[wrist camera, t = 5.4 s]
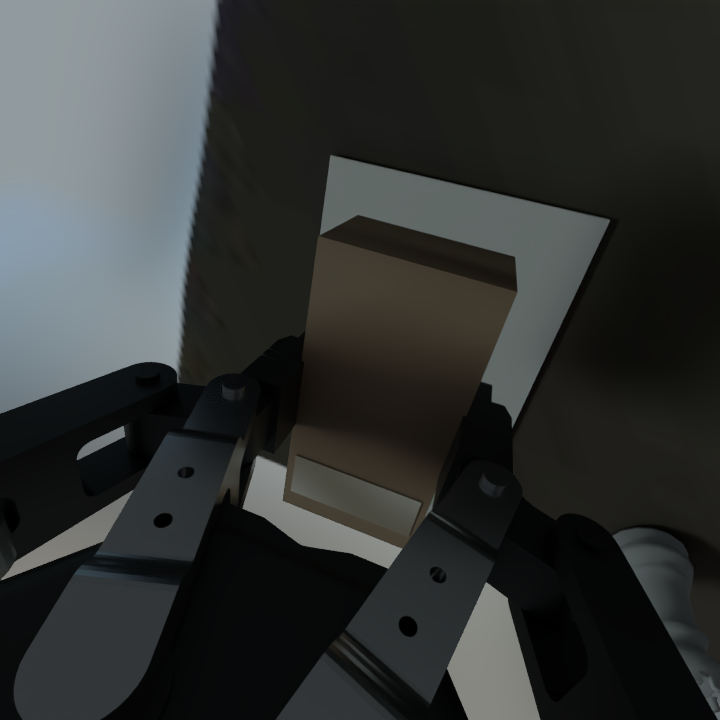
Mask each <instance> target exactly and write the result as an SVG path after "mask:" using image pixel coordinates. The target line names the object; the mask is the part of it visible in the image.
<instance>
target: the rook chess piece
mask: <svg viewBox="0 0 720 720" xmlns="http://www.w3.org/2000/svg"><path fill="white" fill-rule="evenodd" d="M612 536H613V538H614V539H615V540H616V542H617V543H618V545H619V546H620V548H621V550H622V552H623V553H624V555H625V557H626V559H627V560H628V562H629V564H630V566H631V567H632V569H633V571H634V573H635V575H636V576H637V578H638V580H639V582H640V583H641V585H642V587H643V589H644V590H645V592H646V594H647V596H648V597H649V599H650V601H651V603H652V605H653V606H654V608H655V610H656V612H657V613H658V615H659V617H660V619H661V620H662V622H663V624H664V626H665V627H666V629H667V631H668V633H669V635H670V636H671V638H672V640H673V642H674V643H675V645H676V647H677V649H678V650H679V652H680V654H681V656H682V657H683V659H684V661H685V663H686V665H687V666H688V668H689V670H690V672H691V673H692V675H693V677H694V679H695V680H696V682H697V684H698V686H699V687H700V689H701V691H702V693H703V695H704V696H705V698H706V700H707V702H708V703H709V705H710V707H711V709H712V710H713V712H714V713H715V712H719V711H720V707H719V705H718V702H717V700H716V699H718V700H719V703H720V663H718V662H717V661H716V660H715V659H713V658H712V657H711V656H709V655H708V654H707V649H708V644H709V641H708V640H707V638H706V636H705V634H703V633H702V632H700V631H699V629H698V627H697V625H696V622H695V619H694V615H693V611H692V607H691V603H690V599H689V595H690V593H691V586H692V585H691V584H692V581H693V574H694V572H693V566H692V564H691V562H690V561H689V559H688V555H689V554H688V552H687V550H686V549H685V547H684V545H683V543H681V542H680V541H679V540H677V539H676V538H674V537H673V536H672V535H670V534H668V533H666V532H664V531H661V530H657V529H654V528H651V527H638V526H635V527H630V528H625V529H622V530H620V531H618V532H616V533H615V534H613V535H612Z"/></svg>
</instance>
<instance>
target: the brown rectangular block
mask: <svg viewBox="0 0 720 720" xmlns="http://www.w3.org/2000/svg"><path fill="white" fill-rule="evenodd" d="M517 292H518V290H517V276H516V262H515V257H514V256H510V255H506V254H503V253H499V252H495V251H491V250H488V249H484V248H480V247H476V246H473V245H469V244H465V243H462V242H458V241H454V240H450V239H447V238H443V237H439V236H435V235H432V234H428V233H424V232H420V231H417V230H413V229H409V228H405V227H402V226H398V225H394V224H390V223H387V222H383V221H379V220H376V219H372V218H368V217H364V216H361V215H357V216H355V217H353V218H351V219H349V220H348V221H346V222H344V223H342V224H340V225H338V226H336V227H334V228H333V229H331V230H329V231H327V232H325V233H323V234H321V235H319V236H318V242H317V250H316V257H315V265H314V272H313V280H312V287H311V294H310V302H309V309H308V317H307V324H306V332H305V339H304V346H303V354H302V361H303V362H304V367H303V374H302V382H301V389H300V396H299V403H298V410H297V418H296V425H295V426H294V427H293V429H292V436H291V443H290V451H289V458H288V465H287V473H286V481H285V488H284V495H283V501H285V502H287V503H290V504H292V505H295V506H297V507H300V508H303V509H305V510H307V511H310V512H312V513H315V514H317V515H320V516H322V517H325V518H327V519H330V520H332V521H335V522H337V523H340V524H342V525H345V526H347V527H350V528H352V529H355V530H357V531H360V532H363V533H365V534H368V535H370V536H372V537H375V538H377V539H380V540H382V541H385V542H387V543H390V544H392V545H395V546H397V547H400V548H402V549H403V548H404V546H405V545H406V544H407V542H408V541H409V539H410V538H411V537H412V535H413V534H414V532H415V531H416V530H417V528H418V527H419V525H420V524H421V523H422V521H423V520H424V518H425V516H426V513H427V511H428V509H429V506H430V504H431V501H432V499H433V496H434V494H435V492H436V487H437V482H438V477H439V474H440V472H441V469H442V467H443V464H444V462H445V460H446V457H447V455H448V452H449V450H450V447H451V445H452V442H453V440H454V437H455V435H456V432H457V430H458V428H459V425H460V423H461V420H462V418H463V416H467V414H468V411H469V409H470V407H471V404H472V402H473V399H474V397H475V394H476V392H477V390H478V387H479V385H480V382H481V380H482V377H483V375H484V373H485V370H486V368H487V365H488V363H489V360H490V358H491V356H492V353H493V351H494V348H495V346H496V343H497V341H498V339H499V336H500V334H501V331H502V329H503V326H504V324H505V322H506V319H507V317H508V314H509V312H510V309H511V307H512V305H513V302H514V300H515V297H516V295H517Z"/></svg>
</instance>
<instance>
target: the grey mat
mask: <svg viewBox="0 0 720 720" xmlns="http://www.w3.org/2000/svg"><path fill="white" fill-rule="evenodd" d="M357 215H361V216H364V217H368V218H372V219H376V220H379V221H383V222H387V223H390V224H394V225H398V226H402V227H405V228H409V229H413V230H417V231H420V232H424V233H428V234H432V235H435V236H439V237H443V238H447V239H450V240H454V241H458V242H462V243H465V244H469V245H473V246H476V247H480V248H484V249H488V250H491V251H495V252H499V253H503V254H506V255H510V256H514V257H515V262H516V276H517V290H518V292H517V295H516V297H515V300H514V302H513V305H512V307H511V309H510V312H509V314H508V317H507V319H506V322H505V324H504V326H503V329H502V331H501V334H500V336H499V339H498V341H497V343H496V346H495V348H494V351H493V353H492V356H491V358H490V360H489V363H488V365H487V368H486V370H485V373H484V375H483V377H482V380H481V381H482V382H485V383H488V384H491V385H492V402H494V403H497V404H500V405H503V406H505V407H506V409H507V411H508V412H509V414H510V416H511V417H512V427H513V425H514V423H515V421H516V419H517V417H518V415H519V413H520V411H521V408H522V406H523V404H524V402H525V400H526V398H527V396H528V394H529V391H530V389H531V387H532V385H533V383H534V381H535V379H536V377H537V374H538V372H539V370H540V368H541V366H542V364H543V362H544V360H545V358H546V355H547V353H548V351H549V349H550V347H551V345H552V343H553V341H554V338H555V336H556V334H557V332H558V330H559V328H560V326H561V324H562V321H563V319H564V317H565V315H566V313H567V311H568V309H569V307H570V304H571V302H572V300H573V298H574V296H575V294H576V292H577V290H578V288H579V285H580V283H581V281H582V279H583V277H584V275H585V273H586V271H587V268H588V266H589V264H590V262H591V260H592V258H593V256H594V254H595V251H596V249H597V247H598V245H599V243H600V241H601V239H602V237H603V235H604V232H605V230H606V228H607V226H608V224H609V222H610V220H609V219H607V218H602V217H598V216H594V215H589V214H585V213H581V212H576V211H572V210H568V209H563V208H559V207H555V206H551V205H546V204H542V203H538V202H533V201H529V200H525V199H520V198H516V197H512V196H507V195H503V194H499V193H494V192H490V191H486V190H481V189H477V188H473V187H468V186H464V185H460V184H456V183H451V182H447V181H443V180H438V179H434V178H430V177H425V176H421V175H417V174H412V173H408V172H404V171H399V170H395V169H391V168H386V167H382V166H378V165H374V164H369V163H365V162H361V161H356V160H352V159H348V158H343V157H339V156H335V155H331V156H330V164H329V171H328V179H327V186H326V194H325V201H324V209H323V216H322V224H321V231H320V235H321V234H323V233H325V232H327V231H329V230H331V229H333V228H334V227H336V226H338V225H340V224H342V223H344V222H346V221H348V220H349V219H351V218H353V217H355V216H357ZM434 497H435V494H434V496H433V499H432V501H431V504H430V506H429V509H428V511H427V513H426V516H427V514H428V513H429V512H430V511H431V510H432V506H433V501H434ZM426 516H425V517H426Z"/></svg>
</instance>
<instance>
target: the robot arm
mask: <svg viewBox="0 0 720 720" xmlns="http://www.w3.org/2000/svg"><path fill="white" fill-rule="evenodd" d="M305 332H306V331H305ZM305 332H304V333H303V334H302V335H301V336H300V337H298V338H297V337H294V336H288V337H285V338H282V339H280V340H277V341H276V342H275V343H274V344H273V345H272V346H271V347H270V348H269V349H267V350H266V351H265V352H264V353H263V354H262V356H260V357H258V358H257V359H256V360H255V361H254V362H253V363H252V364H251V365H249V366H248V367H247V368H246V369H245V370H244V371H243V372H242V373H240V374H237V373H230V374H223V375H220V376H217V377H215V378H213V379H212V380H210V381H209V382H208V384H207V385H206V386H198V385H190V384H182V383H177V373H176V371H175V370H174V369H173V368H172V367H170V366H168V365H165V364H162V363H157V362H145V363H138V364H134V365H131V366H129V367H126V368H123V369H120V370H118V371H115V372H112V373H110V374H107V375H105V376H102V377H99V378H96V379H93V380H91V381H88V382H85V383H83V384H80V385H77V386H75V387H72V388H69V389H66V390H63V391H61V392H58V393H55V394H53V395H50V396H47V397H45V398H42V399H39V400H36V401H34V402H31V403H28V404H26V405H23V406H20V407H18V408H15V409H12V410H9V411H7V412H4V413H1V414H0V720H468V718H467V715H466V713H465V711H464V708H463V706H462V703H461V701H460V699H459V697H458V694H457V691H456V689H455V687H454V684H453V682H452V680H451V677H450V675H449V672H448V670H447V667H448V664H449V662H450V660H451V658H452V656H453V653H454V651H455V649H456V647H457V644H458V642H459V640H460V638H461V635H462V633H463V631H464V629H465V627H466V625H467V622H468V620H469V618H470V616H471V614H472V611H473V609H474V607H475V605H476V603H477V600H478V598H479V596H480V594H481V591H482V589H483V587H484V585H485V583H486V582H487V583H488V584H490V585H491V586H492V587H494V588H495V589H496V590H498V591H499V592H501V593H502V594H503V595H504V596H506V597H507V598H508V603H509V608H510V612H511V615H512V619H513V622H514V626H515V630H516V633H517V637H518V640H519V644H520V647H521V651H522V654H523V658H524V662H525V665H526V669H527V673H528V676H529V680H530V684H531V687H532V691H533V694H534V698H535V702H536V705H537V709H538V712H539V716H540V719H541V720H718V719H717V717H716V716H715V714H714V712H713V710H712V709H711V707H710V705H709V703H708V702H707V700H706V698H705V696H704V695H703V693H702V691H701V689H700V687H699V686H698V684H697V682H696V680H695V679H694V677H693V675H692V673H691V672H690V670H689V668H688V666H687V665H686V663H685V661H684V659H683V657H682V656H681V654H680V652H679V650H678V649H677V647H676V645H675V643H674V642H673V640H672V638H671V636H670V635H669V633H668V631H667V629H666V627H665V626H664V624H663V622H662V620H661V619H660V617H659V615H658V613H657V612H656V610H655V608H654V606H653V605H652V603H651V601H650V599H649V597H648V596H647V594H646V592H645V590H644V589H643V587H642V585H641V583H640V582H639V580H638V578H637V576H636V575H635V573H634V571H633V569H632V567H631V566H630V564H629V562H628V560H627V559H626V557H625V555H624V553H623V552H622V550H621V548H620V546H619V545H618V543H617V542H616V540H615V539H614V538H613V536H612V535H611V534H610V533H609V532H608V531H607V530H606V529H604V528H603V527H602V526H601V525H599V524H598V523H596V522H595V521H593V520H591V519H589V518H587V517H584V516H581V515H578V514H564V515H562V516H560V517H559V518H558V519H557V521H556V520H554V519H552V518H551V517H549V516H548V515H546V514H544V513H543V512H541V511H540V510H538V509H537V508H535V507H534V506H532V505H531V504H530V503H529V502H527V501H526V500H525V499H524V498H523V496H522V495H523V491H522V487H521V484H520V483H519V481H518V479H517V478H516V477H515V476H514V475H513V453H512V417H511V416H510V414H509V412H508V411H507V409H506V407H505V406H503V405H500V404H497V403H494V402H492V385H491V384H488V383H485V382H482V381H481V382H480V385H479V387H478V390H477V392H476V394H475V397H474V399H473V402H472V404H471V407H470V409H469V411H468V414H467V416H463V418H462V420H461V423H460V425H459V428H458V430H457V432H456V435H455V437H454V440H453V442H452V445H451V447H450V450H449V452H448V455H447V457H446V460H445V462H444V464H443V467H442V469H441V472H440V474H439V477H438V482H437V487H436V492H435V497H434V501H433V506H432V510H431V511H430V512H429V513H428V514H427V516H426V517H425V518H424V520H423V521H422V523H421V524H420V525H419V527H418V528H417V530H416V531H415V532H414V534H413V535H412V537H411V538H410V539H409V541H408V542H407V544H406V545H405V546H404V548H403V549H402V551H401V552H400V554H399V555H398V556H397V558H396V559H395V560H394V562H393V563H392V565H391V566H390V568H389V569H387V568H385V567H382V566H380V565H377V564H375V563H373V562H370V561H368V560H366V559H363V558H361V557H358V556H356V555H353V554H351V553H344V552H337V551H331V550H325V549H318V548H312V547H306V546H303V545H300V544H298V543H297V542H296V541H294V540H293V539H292V538H290V537H289V536H287V535H286V534H285V533H284V532H282V531H281V530H280V529H278V528H277V527H276V526H274V525H273V524H272V523H270V522H269V521H268V520H266V519H265V518H264V517H261V516H259V515H256V514H254V513H251V512H249V511H247V510H244V509H242V508H243V505H244V501H245V498H246V494H247V491H248V487H249V484H250V480H251V477H252V474H253V471H254V467H255V460H256V457H257V455H258V454H259V453H260V451H261V450H262V449H263V450H265V451H268V452H271V453H273V454H274V453H275V452H276V450H277V449H278V448H279V446H280V445H281V444H282V442H283V441H284V440H285V438H286V437H287V435H288V434H289V433H290V431H291V430H292V429H293V427H294V426H295V425H296V418H297V410H298V403H299V396H300V389H301V382H302V374H303V367H304V362H303V361H302V354H303V346H304V339H305ZM121 426H124V431H125V437H124V438H121V439H119V440H117V441H116V442H113V443H111V444H109V445H107V446H105V447H103V448H101V449H99V450H97V451H95V452H93V453H91V454H90V455H87V456H85V457H83V458H81V459H79V460H77V455H78V453H79V451H80V449H81V448H82V447H83V446H84V445H85V444H87V443H88V442H90V441H92V440H94V439H96V438H98V437H100V436H102V435H104V434H107V433H109V432H111V431H113V430H115V429H117V428H119V427H121ZM132 490H134V491H133V492H132V494H131V496H130V498H129V499H128V501H127V503H126V504H125V506H124V508H123V509H122V512H121V513H120V515H119V516H118V518H117V520H116V521H115V523H114V525H113V526H112V528H111V530H110V532H109V533H108V535H107V537H106V538H105V540H104V541H103V542H101V543H98V544H96V545H93V546H90V547H88V548H86V549H83V550H80V551H78V552H75V553H72V554H70V555H67V556H64V557H62V558H59V559H56V560H54V561H51V562H49V563H46V564H43V565H41V566H38V567H36V568H33V569H30V570H28V571H25V572H23V573H20V574H17V575H15V576H12V577H9V578H7V579H4V580H1V578H2V577H3V576H4V575H5V574H6V573H7V572H8V571H9V569H10V568H11V566H12V565H13V563H14V562H15V561H16V560H18V559H20V558H21V557H23V556H25V555H26V554H28V553H30V552H31V551H33V550H35V549H36V548H38V547H40V546H41V545H43V544H44V543H46V542H48V541H49V540H51V539H53V538H54V537H56V536H58V535H59V534H61V533H63V532H64V531H66V530H68V529H69V528H71V527H73V526H74V525H76V524H78V523H79V522H81V521H82V520H84V519H85V518H87V517H89V516H91V515H92V514H94V513H96V512H97V511H99V510H101V509H102V508H104V507H106V506H107V505H109V504H110V503H112V502H114V501H115V500H117V499H119V498H120V497H122V496H123V495H125V494H127V493H129V492H130V491H132Z"/></svg>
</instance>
